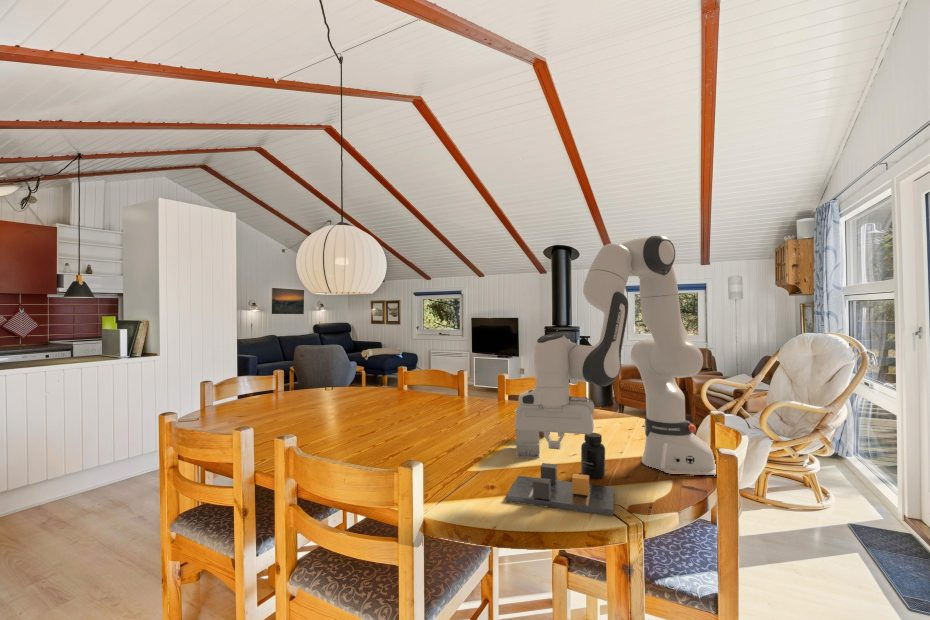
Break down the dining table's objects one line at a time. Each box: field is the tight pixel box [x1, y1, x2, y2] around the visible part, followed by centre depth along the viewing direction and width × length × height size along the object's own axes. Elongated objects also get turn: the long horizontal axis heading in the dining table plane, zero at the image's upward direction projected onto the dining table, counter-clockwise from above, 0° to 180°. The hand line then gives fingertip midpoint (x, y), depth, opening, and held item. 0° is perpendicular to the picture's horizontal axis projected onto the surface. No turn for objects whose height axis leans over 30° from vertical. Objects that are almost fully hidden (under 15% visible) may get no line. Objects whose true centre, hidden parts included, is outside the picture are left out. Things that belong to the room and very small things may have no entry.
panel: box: [505, 475, 615, 517], centre depth 114 cm, size 26×14×2 cm, turn 70°
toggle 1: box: [540, 462, 558, 483], centre depth 121 cm, size 4×3×4 cm
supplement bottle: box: [580, 432, 606, 480], centre depth 129 cm, size 7×7×12 cm
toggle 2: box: [533, 476, 551, 500], centre depth 111 cm, size 4×3×4 cm
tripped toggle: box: [571, 473, 590, 495], centre depth 113 cm, size 4×3×4 cm
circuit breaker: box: [515, 406, 541, 459], centre depth 152 cm, size 8×14×15 cm, turn 174°
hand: (554, 448), depth 115 cm, fingers closed
